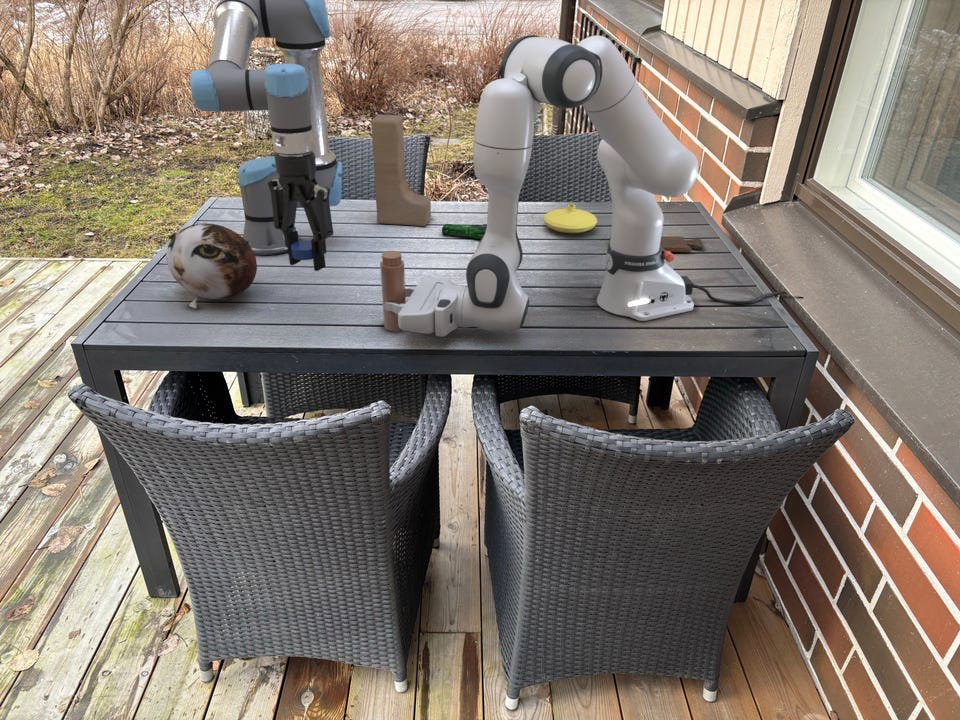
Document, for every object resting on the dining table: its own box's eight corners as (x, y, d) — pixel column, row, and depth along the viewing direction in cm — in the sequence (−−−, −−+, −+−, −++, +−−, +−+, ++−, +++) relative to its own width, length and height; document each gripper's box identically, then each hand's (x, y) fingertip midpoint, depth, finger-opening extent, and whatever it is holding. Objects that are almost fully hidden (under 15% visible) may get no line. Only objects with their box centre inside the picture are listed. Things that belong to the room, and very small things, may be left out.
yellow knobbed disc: (559, 216, 220) (561, 193, 217) (605, 227, 212) (608, 204, 209) (532, 230, 209) (533, 207, 206) (580, 242, 201) (582, 218, 198)
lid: (316, 260, 144) (315, 250, 143) (288, 260, 144) (287, 249, 143) (323, 250, 149) (322, 240, 148) (296, 249, 149) (294, 239, 148)
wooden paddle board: (706, 254, 196) (698, 241, 204) (708, 249, 195) (699, 236, 203) (612, 251, 196) (608, 238, 205) (613, 245, 195) (608, 232, 204)
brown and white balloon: (130, 285, 161) (164, 203, 163) (192, 308, 177) (221, 233, 178) (195, 307, 151) (229, 220, 152) (254, 330, 166) (285, 250, 168)
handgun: (511, 219, 210) (493, 234, 198) (511, 228, 211) (492, 244, 199) (461, 212, 215) (440, 226, 203) (461, 221, 217) (440, 236, 204)
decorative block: (426, 226, 211) (423, 122, 195) (376, 223, 212) (370, 119, 197) (431, 218, 217) (429, 116, 202) (383, 215, 219) (377, 114, 203)
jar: (382, 322, 159) (377, 251, 150) (404, 319, 160) (400, 248, 152) (386, 332, 155) (382, 260, 146) (409, 329, 156) (406, 257, 148)
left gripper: (243, 150, 137) (260, 263, 148) (321, 163, 130) (333, 281, 141) (269, 142, 143) (284, 251, 154) (346, 154, 135) (355, 267, 147)
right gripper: (463, 272, 159) (403, 266, 161) (440, 313, 142) (374, 306, 144) (463, 298, 162) (404, 292, 165) (441, 340, 145) (376, 333, 147)
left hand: (307, 265), depth 148 cm, fingers closed on lid, 6 cm apart
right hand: (390, 299), depth 154 cm, fingers closed on jar, 5 cm apart
